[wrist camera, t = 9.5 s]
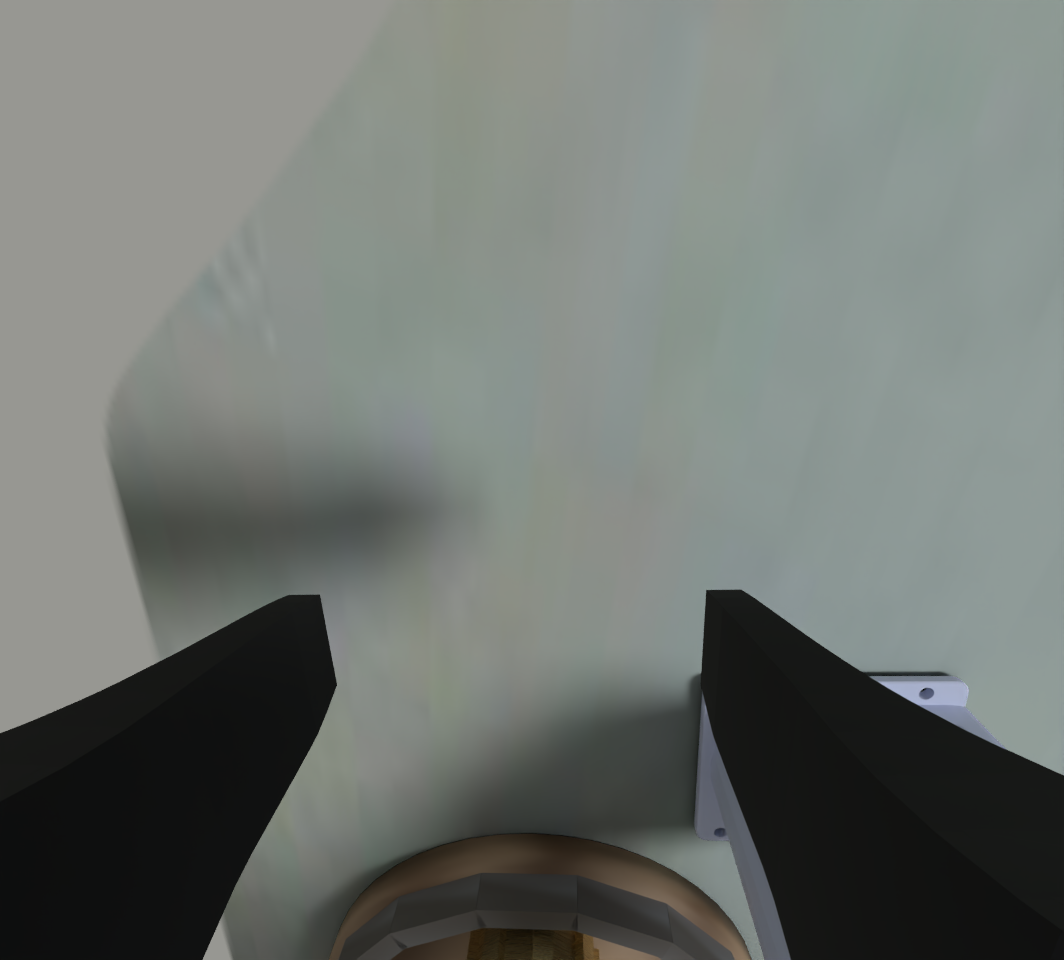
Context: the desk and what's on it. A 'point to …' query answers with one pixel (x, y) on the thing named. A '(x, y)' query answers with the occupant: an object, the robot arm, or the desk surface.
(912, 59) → the desk surface
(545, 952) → the planet gear
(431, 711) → the desk surface
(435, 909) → the gear carrier
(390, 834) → the desk surface
